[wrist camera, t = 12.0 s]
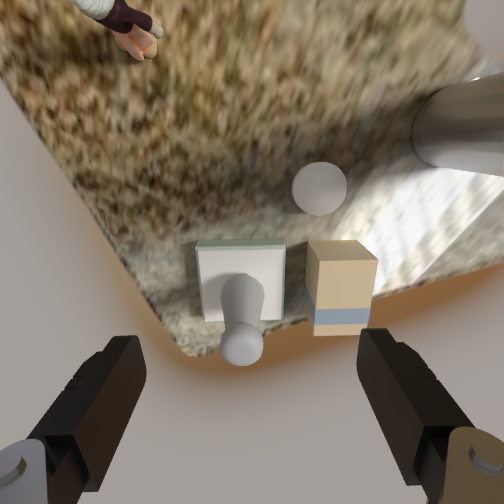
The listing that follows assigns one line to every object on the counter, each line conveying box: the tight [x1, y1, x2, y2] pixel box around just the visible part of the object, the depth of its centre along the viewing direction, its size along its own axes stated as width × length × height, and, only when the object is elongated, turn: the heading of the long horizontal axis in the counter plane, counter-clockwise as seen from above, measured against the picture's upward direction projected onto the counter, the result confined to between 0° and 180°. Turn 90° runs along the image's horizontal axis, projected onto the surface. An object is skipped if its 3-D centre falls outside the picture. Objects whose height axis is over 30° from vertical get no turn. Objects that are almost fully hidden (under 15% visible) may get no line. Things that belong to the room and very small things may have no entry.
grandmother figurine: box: [69, 0, 163, 61], centre depth 24 cm, size 8×4×13 cm, turn 83°
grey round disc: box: [291, 162, 347, 216], centre depth 35 cm, size 6×6×3 cm
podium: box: [195, 238, 286, 322], centre depth 40 cm, size 12×12×3 cm
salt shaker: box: [220, 273, 265, 366], centre depth 32 cm, size 6×6×13 cm
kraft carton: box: [303, 240, 378, 336], centre depth 38 cm, size 7×11×7 cm, turn 1°
